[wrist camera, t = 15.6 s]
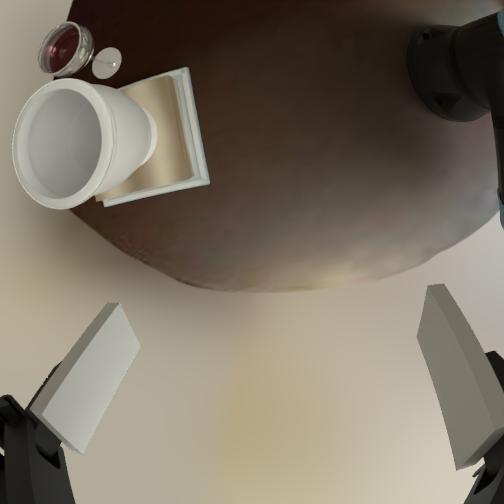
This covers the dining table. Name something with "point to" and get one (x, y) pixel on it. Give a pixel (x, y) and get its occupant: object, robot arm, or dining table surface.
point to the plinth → (159, 139)
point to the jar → (79, 141)
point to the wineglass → (74, 53)
